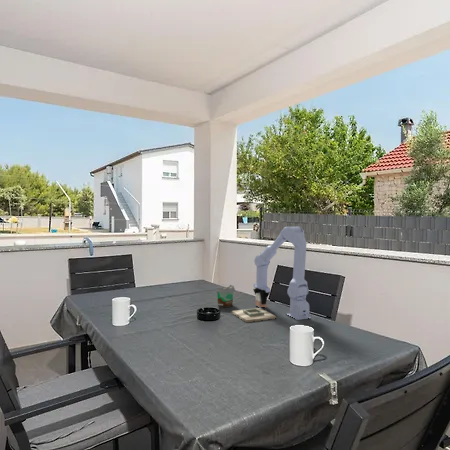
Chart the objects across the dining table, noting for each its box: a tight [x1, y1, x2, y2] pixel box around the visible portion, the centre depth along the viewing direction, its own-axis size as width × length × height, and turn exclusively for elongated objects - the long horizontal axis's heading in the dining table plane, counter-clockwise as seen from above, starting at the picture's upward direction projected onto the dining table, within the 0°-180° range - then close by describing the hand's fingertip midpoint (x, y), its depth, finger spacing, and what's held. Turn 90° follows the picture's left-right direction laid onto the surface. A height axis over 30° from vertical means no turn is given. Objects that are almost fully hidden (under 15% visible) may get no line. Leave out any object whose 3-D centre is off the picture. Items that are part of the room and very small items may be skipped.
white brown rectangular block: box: [255, 293, 268, 308], centre depth 193 cm, size 4×4×7 cm
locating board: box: [231, 307, 277, 323], centre depth 175 cm, size 16×16×2 cm
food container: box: [216, 284, 236, 308], centre depth 194 cm, size 12×6×10 cm, turn 143°
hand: (261, 303), depth 193 cm, fingers closed on white brown rectangular block, 4 cm apart
